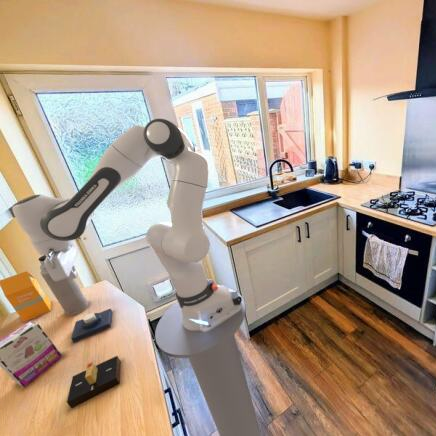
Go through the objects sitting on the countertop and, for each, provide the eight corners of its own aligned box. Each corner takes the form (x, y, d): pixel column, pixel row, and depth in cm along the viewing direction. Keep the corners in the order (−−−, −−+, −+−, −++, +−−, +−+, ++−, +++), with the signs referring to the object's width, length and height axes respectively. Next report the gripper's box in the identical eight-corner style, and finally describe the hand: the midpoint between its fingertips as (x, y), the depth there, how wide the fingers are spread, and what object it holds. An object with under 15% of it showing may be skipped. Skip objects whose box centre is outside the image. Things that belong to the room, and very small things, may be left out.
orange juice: (25, 313, 111) (-1, 277, 102) (50, 302, 116) (28, 267, 108) (23, 322, 105) (-4, 285, 97) (50, 310, 110) (26, 274, 102)
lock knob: (95, 382, 73) (90, 374, 72) (90, 385, 73) (84, 377, 71) (97, 369, 77) (92, 361, 76) (92, 371, 77) (87, 363, 75)
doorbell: (112, 312, 105) (108, 305, 104) (111, 327, 97) (106, 320, 96) (78, 325, 100) (73, 318, 98) (73, 343, 92) (68, 335, 90)
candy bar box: (54, 353, 88) (30, 320, 82) (63, 356, 87) (39, 322, 80) (15, 384, 79) (-17, 349, 72) (24, 388, 77) (-7, 353, 71)
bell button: (96, 315, 99) (94, 311, 99) (95, 320, 96) (93, 317, 96) (85, 319, 98) (83, 315, 97) (84, 325, 95) (82, 321, 94)
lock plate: (120, 361, 83) (117, 354, 81) (119, 384, 75) (115, 377, 74) (77, 382, 77) (72, 375, 76) (71, 409, 70) (66, 402, 69)
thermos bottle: (62, 317, 105) (27, 263, 94) (73, 304, 113) (42, 252, 101) (82, 313, 106) (50, 259, 95) (92, 300, 114) (63, 249, 102)
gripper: (58, 253, 74) (80, 288, 80) (71, 230, 90) (88, 261, 96) (31, 261, 71) (56, 297, 77) (49, 236, 87) (68, 267, 93)
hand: (74, 277), depth 87 cm, fingers closed
